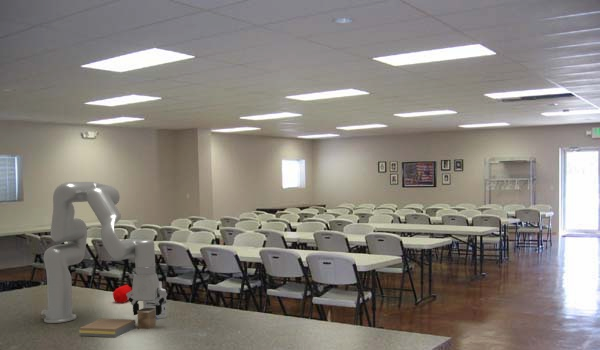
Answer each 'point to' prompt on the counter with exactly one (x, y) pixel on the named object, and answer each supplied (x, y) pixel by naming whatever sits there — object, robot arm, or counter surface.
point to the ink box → (153, 305)
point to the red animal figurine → (121, 294)
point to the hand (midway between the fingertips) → (147, 314)
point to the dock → (107, 327)
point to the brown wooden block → (146, 318)
